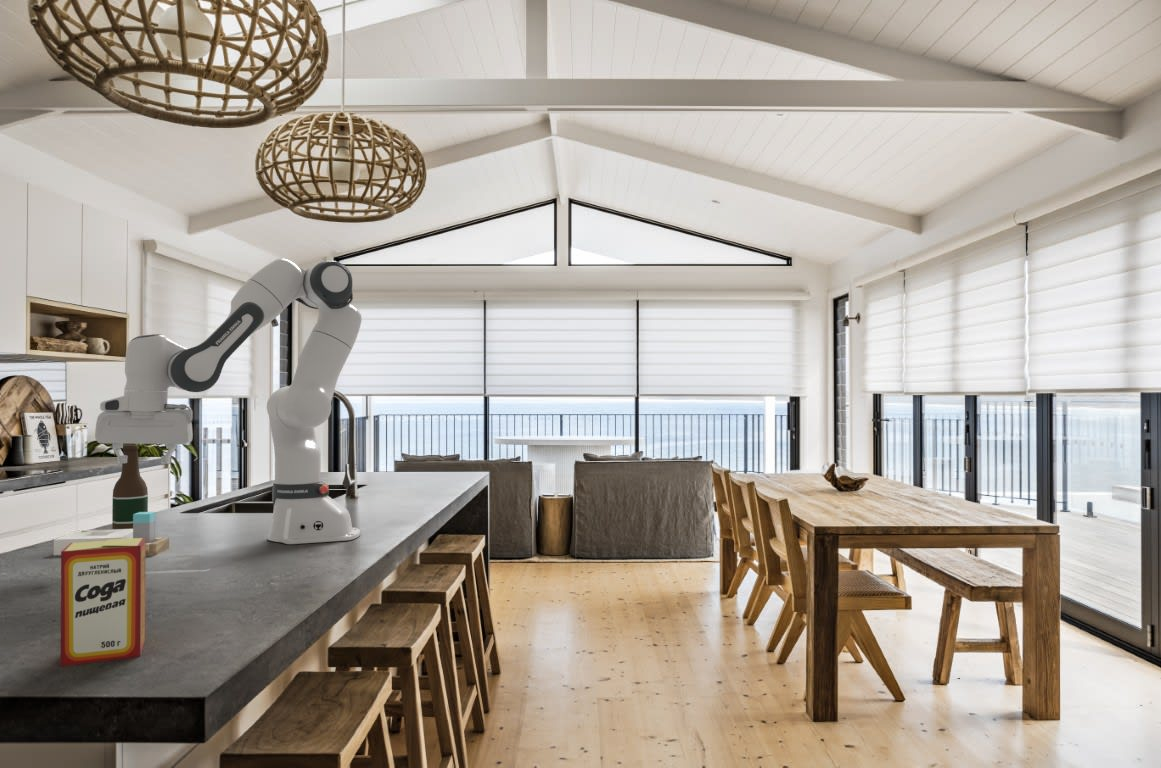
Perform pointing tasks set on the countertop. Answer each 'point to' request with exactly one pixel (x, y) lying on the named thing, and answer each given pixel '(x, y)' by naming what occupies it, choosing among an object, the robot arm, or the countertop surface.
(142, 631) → the baking soda box
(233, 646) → the countertop surface
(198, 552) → the countertop surface
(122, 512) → the beer bottle
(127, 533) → the port
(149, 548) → the square wooden tray
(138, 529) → the plug
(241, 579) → the countertop surface
